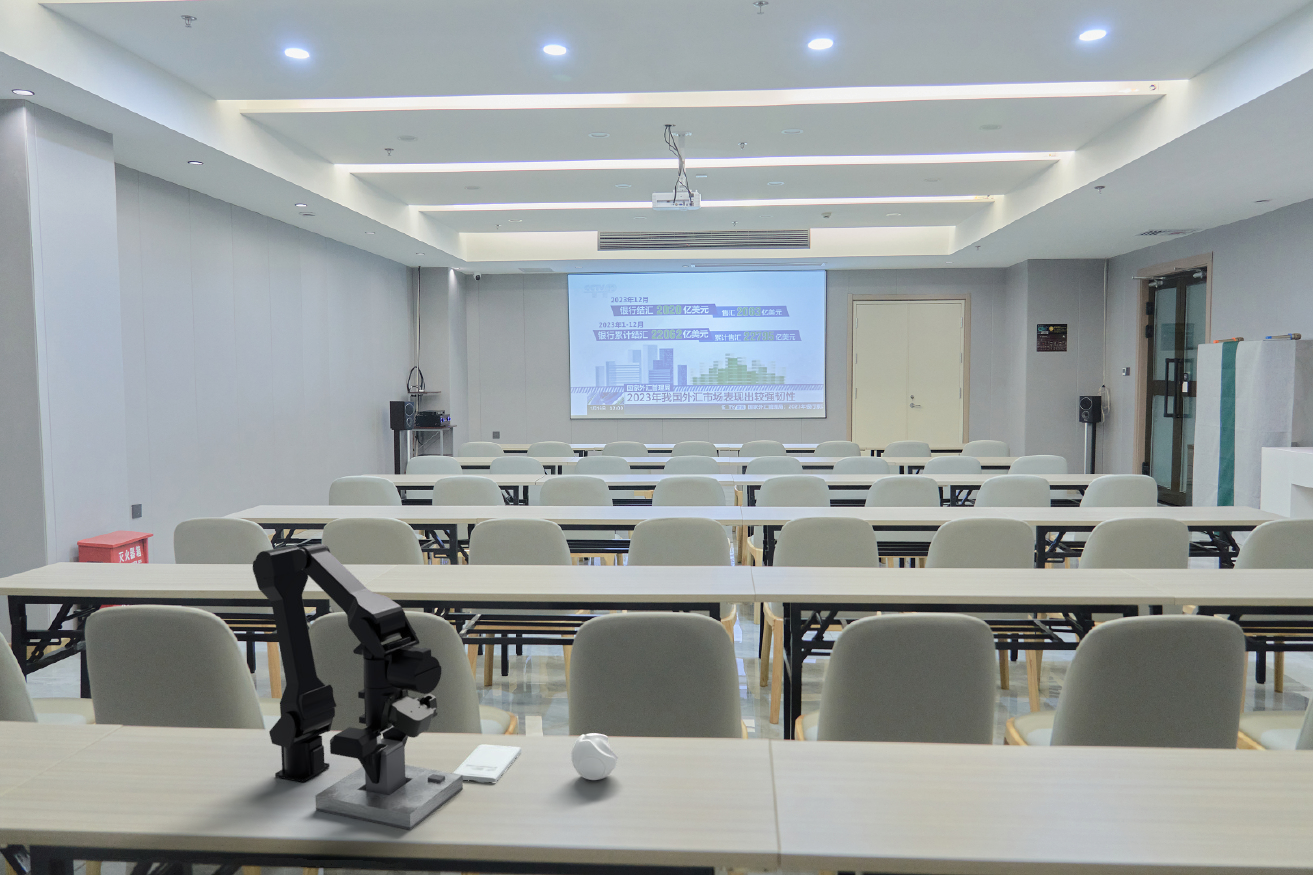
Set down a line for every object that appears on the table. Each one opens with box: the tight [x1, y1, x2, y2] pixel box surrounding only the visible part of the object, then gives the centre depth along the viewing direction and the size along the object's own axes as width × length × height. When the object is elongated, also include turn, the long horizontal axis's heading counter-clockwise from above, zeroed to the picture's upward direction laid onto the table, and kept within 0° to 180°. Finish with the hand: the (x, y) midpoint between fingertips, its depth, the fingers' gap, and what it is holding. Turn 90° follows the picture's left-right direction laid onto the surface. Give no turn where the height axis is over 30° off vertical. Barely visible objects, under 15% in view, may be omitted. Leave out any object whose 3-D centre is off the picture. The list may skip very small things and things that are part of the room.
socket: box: [314, 764, 464, 831], centre depth 139 cm, size 18×14×3 cm
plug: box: [365, 737, 406, 796], centre depth 139 cm, size 4×4×8 cm
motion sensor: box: [571, 732, 619, 781], centre depth 146 cm, size 8×8×8 cm
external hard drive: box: [452, 743, 522, 783], centre depth 151 cm, size 2×8×12 cm
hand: (385, 776), depth 139 cm, fingers closed on plug, 4 cm apart
